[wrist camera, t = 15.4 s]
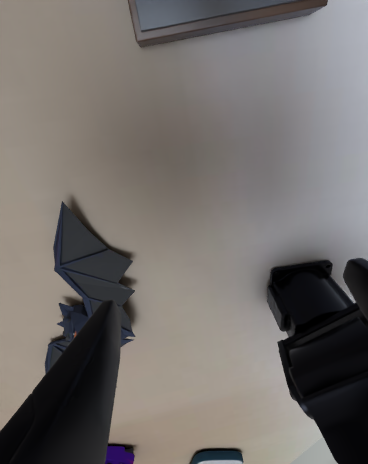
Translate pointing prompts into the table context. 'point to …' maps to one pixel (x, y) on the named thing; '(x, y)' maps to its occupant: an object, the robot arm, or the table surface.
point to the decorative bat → (86, 279)
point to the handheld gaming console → (119, 455)
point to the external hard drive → (218, 457)
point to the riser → (208, 16)
